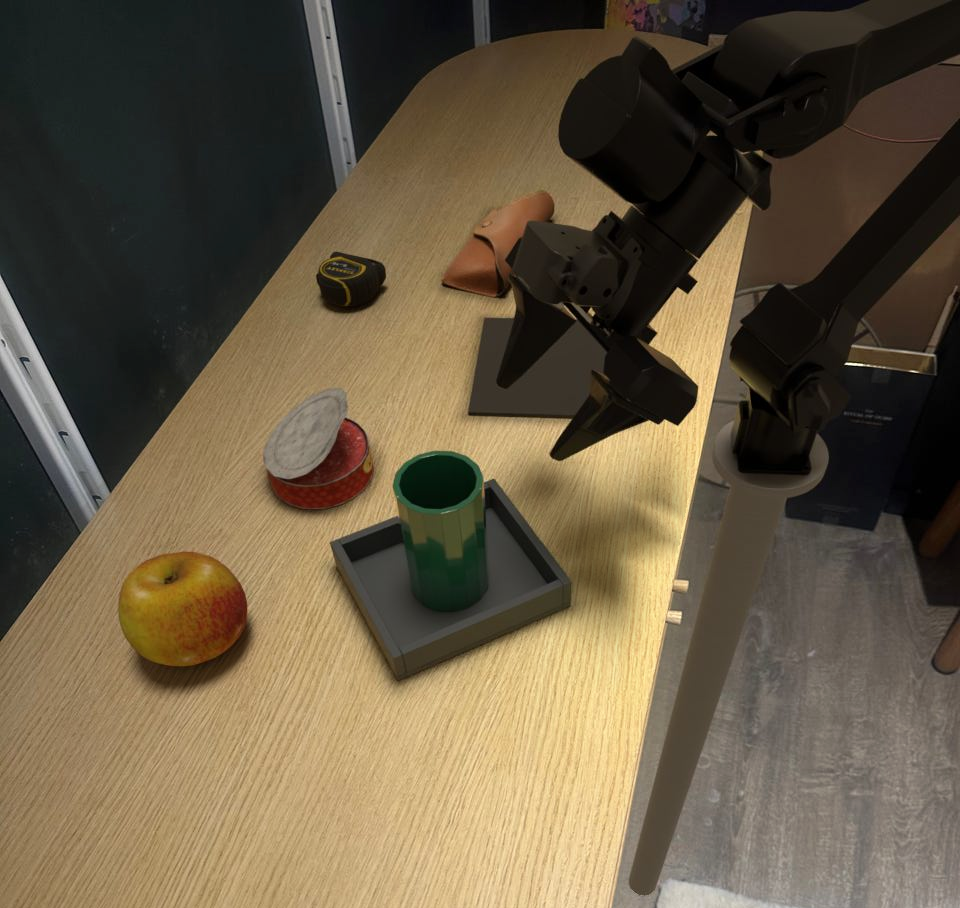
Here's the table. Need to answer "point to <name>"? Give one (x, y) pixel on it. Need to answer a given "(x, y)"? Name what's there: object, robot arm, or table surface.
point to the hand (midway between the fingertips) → (526, 421)
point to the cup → (443, 529)
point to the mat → (535, 375)
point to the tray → (442, 635)
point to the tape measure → (349, 279)
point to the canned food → (318, 453)
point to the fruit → (182, 608)
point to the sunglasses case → (496, 246)
